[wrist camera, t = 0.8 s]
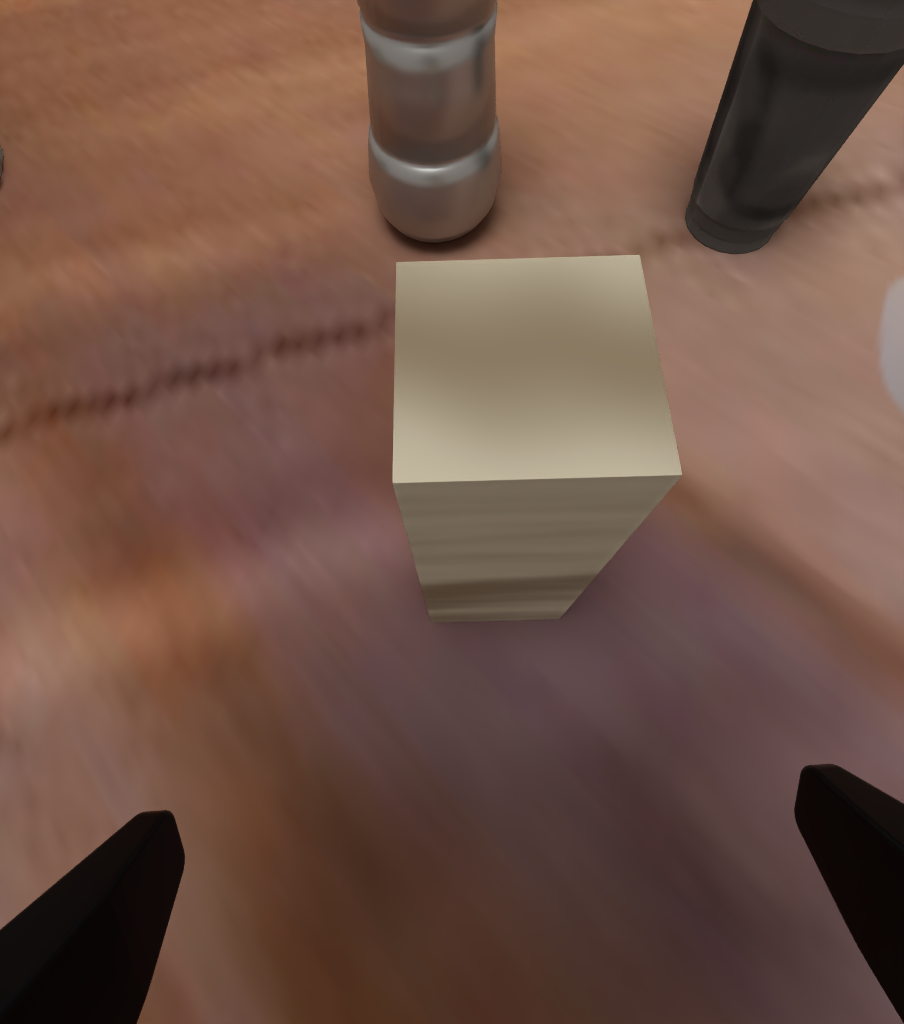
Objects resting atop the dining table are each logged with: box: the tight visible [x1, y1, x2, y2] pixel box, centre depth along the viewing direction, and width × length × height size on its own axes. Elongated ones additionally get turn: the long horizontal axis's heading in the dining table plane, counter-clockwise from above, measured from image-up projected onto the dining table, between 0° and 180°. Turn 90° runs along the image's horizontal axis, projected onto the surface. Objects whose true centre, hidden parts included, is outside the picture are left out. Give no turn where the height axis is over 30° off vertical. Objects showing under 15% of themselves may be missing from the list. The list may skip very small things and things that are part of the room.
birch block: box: [393, 255, 682, 622], centre depth 17 cm, size 5×5×13 cm
